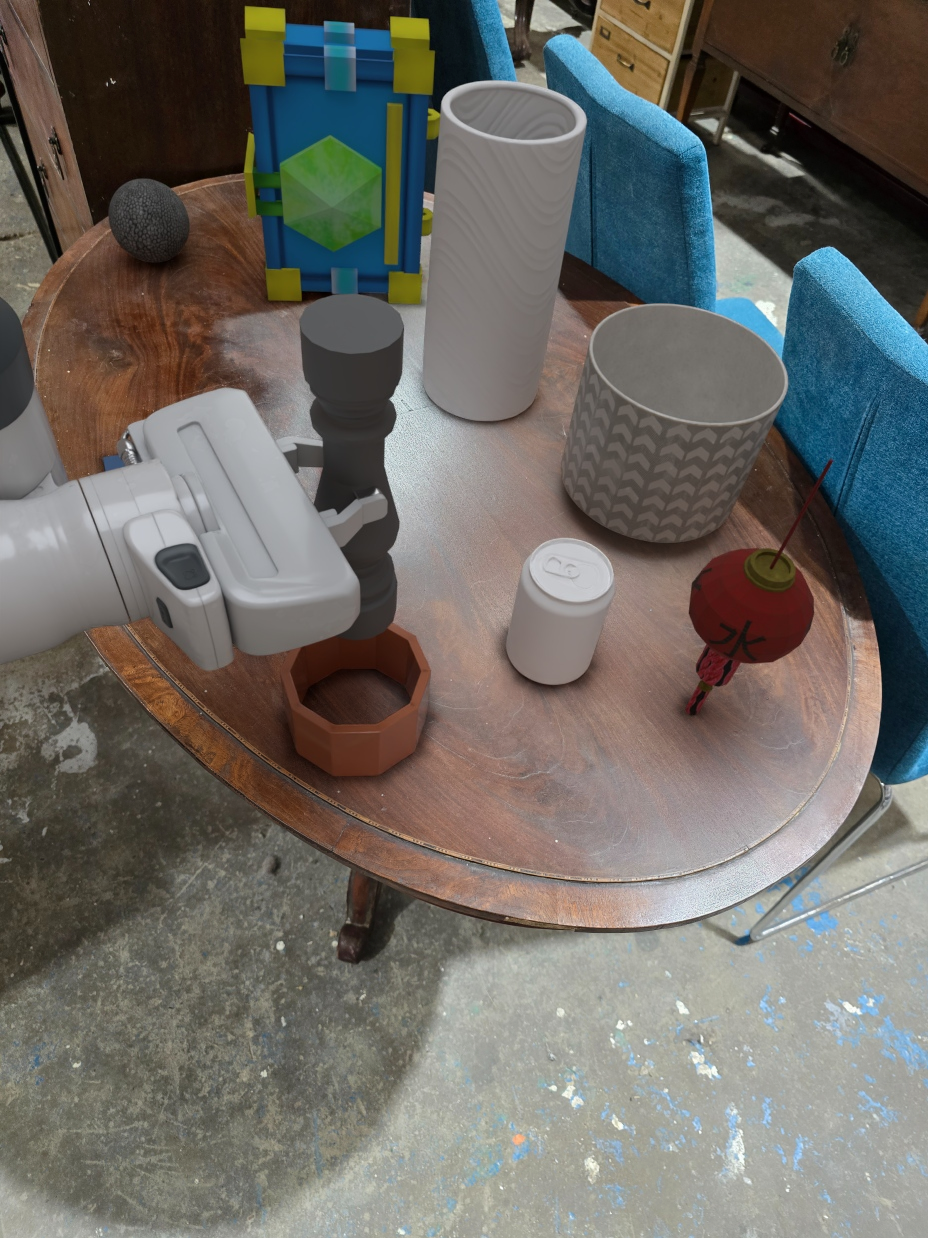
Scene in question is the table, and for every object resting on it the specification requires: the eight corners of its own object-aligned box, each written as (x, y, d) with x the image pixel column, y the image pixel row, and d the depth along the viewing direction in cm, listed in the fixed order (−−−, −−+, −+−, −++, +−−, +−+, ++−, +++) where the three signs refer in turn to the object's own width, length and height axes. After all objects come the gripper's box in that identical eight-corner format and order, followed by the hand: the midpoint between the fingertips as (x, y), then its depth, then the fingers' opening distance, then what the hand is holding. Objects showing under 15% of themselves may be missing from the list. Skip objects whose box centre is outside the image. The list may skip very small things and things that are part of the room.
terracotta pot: (310, 796, 70) (305, 754, 64) (273, 678, 77) (266, 631, 71) (443, 755, 73) (449, 712, 68) (397, 646, 80) (399, 598, 75)
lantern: (658, 653, 82) (774, 396, 59) (753, 692, 80) (914, 443, 57) (627, 728, 77) (742, 477, 53) (729, 773, 75) (895, 533, 51)
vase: (556, 416, 103) (616, 138, 78) (443, 434, 99) (469, 149, 74) (511, 346, 111) (553, 75, 86) (405, 361, 107) (418, 81, 82)
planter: (612, 583, 87) (660, 444, 73) (525, 463, 97) (553, 321, 83) (760, 535, 94) (830, 399, 79) (664, 427, 104) (711, 289, 89)
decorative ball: (109, 274, 113) (90, 198, 105) (127, 235, 119) (111, 160, 112) (187, 280, 114) (174, 205, 106) (201, 241, 120) (189, 167, 112)
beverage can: (577, 700, 78) (606, 619, 69) (493, 671, 79) (510, 586, 70) (599, 635, 83) (629, 551, 74) (520, 608, 84) (539, 522, 75)
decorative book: (262, 252, 120) (237, -2, 96) (427, 258, 123) (441, 12, 99) (257, 311, 111) (228, 46, 87) (434, 315, 114) (452, 61, 91)
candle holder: (301, 624, 65) (273, 336, 46) (336, 568, 69) (325, 280, 49) (376, 651, 64) (381, 369, 45) (408, 592, 68) (425, 309, 48)
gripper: (119, 467, 59) (308, 418, 64) (217, 694, 49) (434, 614, 54) (96, 392, 54) (303, 345, 59) (200, 627, 44) (441, 546, 49)
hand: (366, 475), depth 56 cm, fingers closed on candle holder, 4 cm apart
